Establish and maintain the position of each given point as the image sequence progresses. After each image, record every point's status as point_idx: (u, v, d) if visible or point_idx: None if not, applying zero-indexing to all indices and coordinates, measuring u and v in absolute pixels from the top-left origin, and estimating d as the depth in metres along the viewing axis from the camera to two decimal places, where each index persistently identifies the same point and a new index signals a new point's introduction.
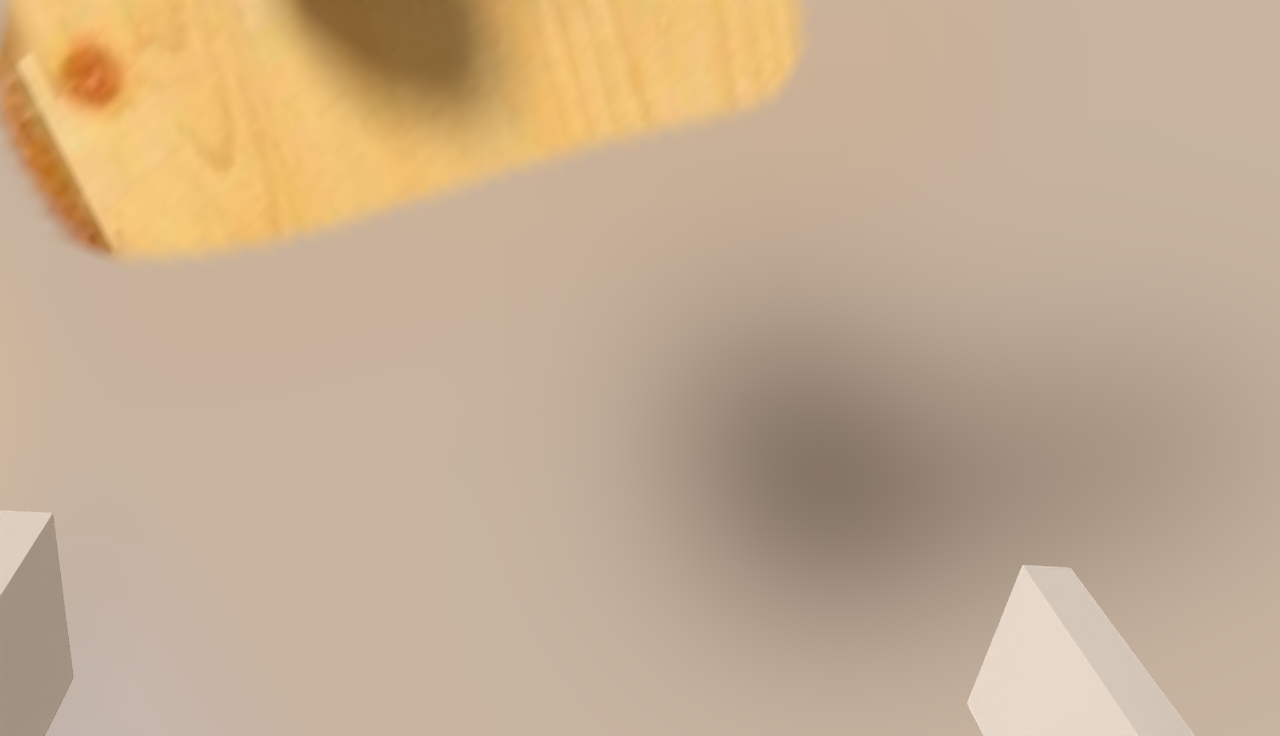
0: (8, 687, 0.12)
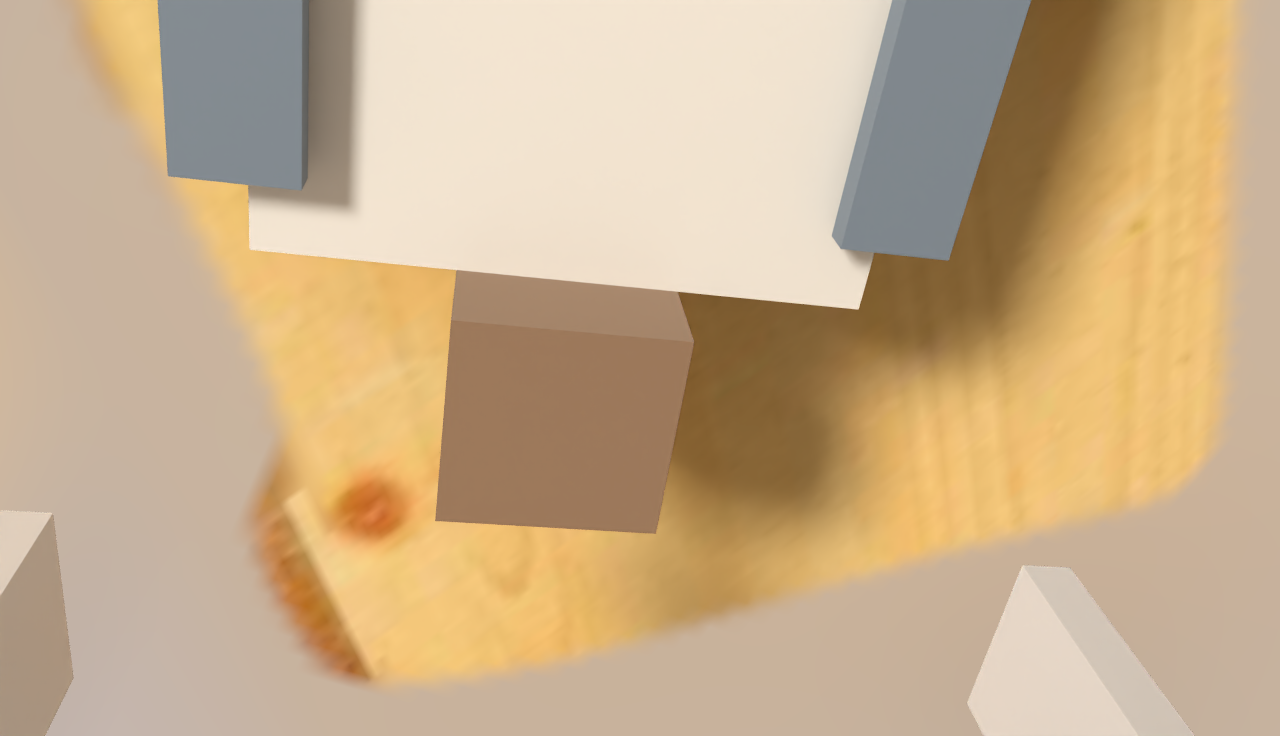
0: (8, 687, 0.12)
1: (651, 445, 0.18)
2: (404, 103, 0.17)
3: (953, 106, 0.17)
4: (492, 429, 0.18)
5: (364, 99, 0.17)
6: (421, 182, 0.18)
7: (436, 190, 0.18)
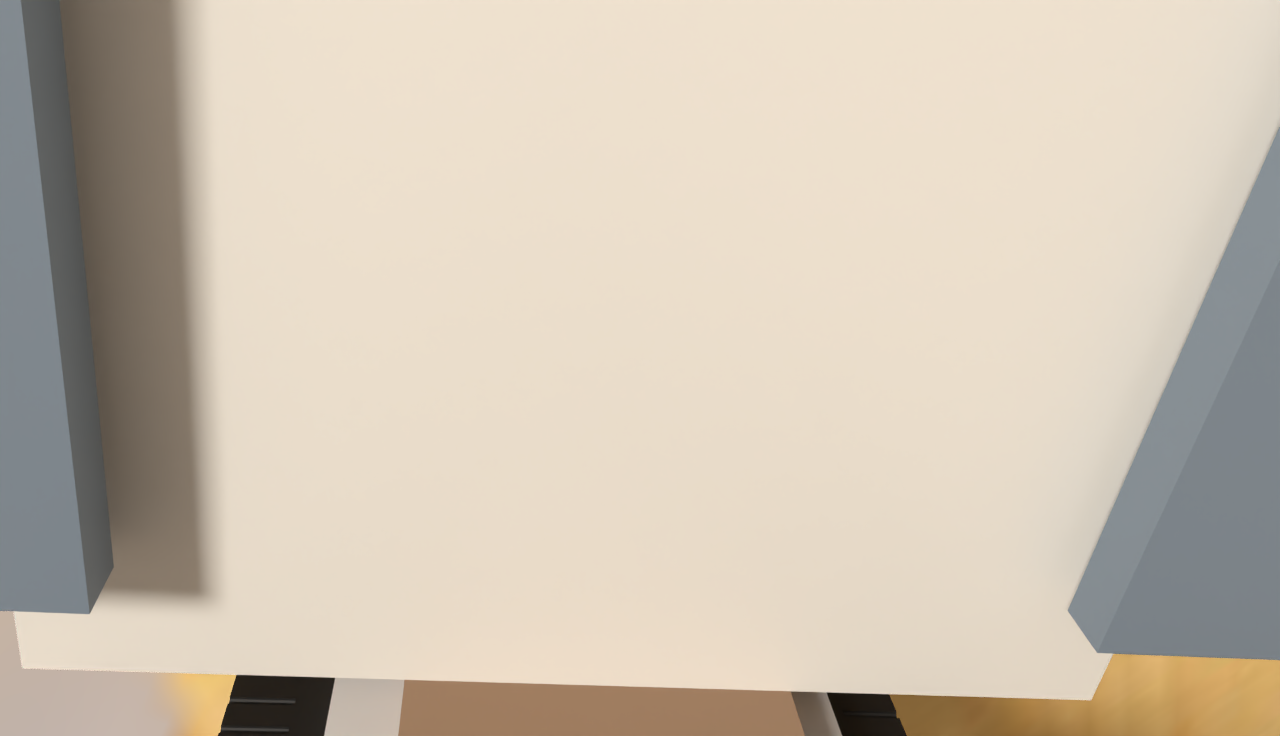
0: None
1: None
2: (296, 428, 0.09)
3: None
4: None
5: (218, 425, 0.09)
6: (335, 552, 0.10)
7: (363, 564, 0.10)
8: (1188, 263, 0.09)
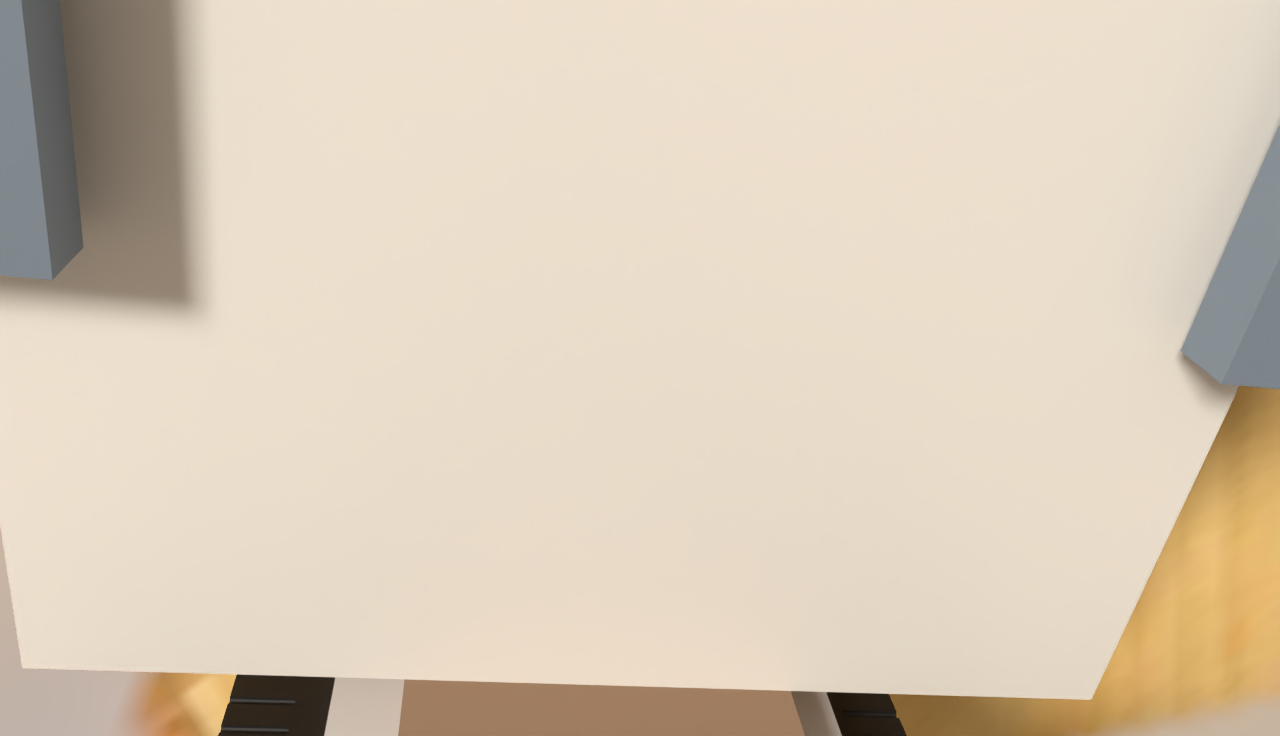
0: None
1: None
2: (296, 427, 0.09)
3: None
4: None
5: (218, 423, 0.09)
6: (335, 552, 0.10)
7: (364, 563, 0.10)
8: (1188, 262, 0.09)
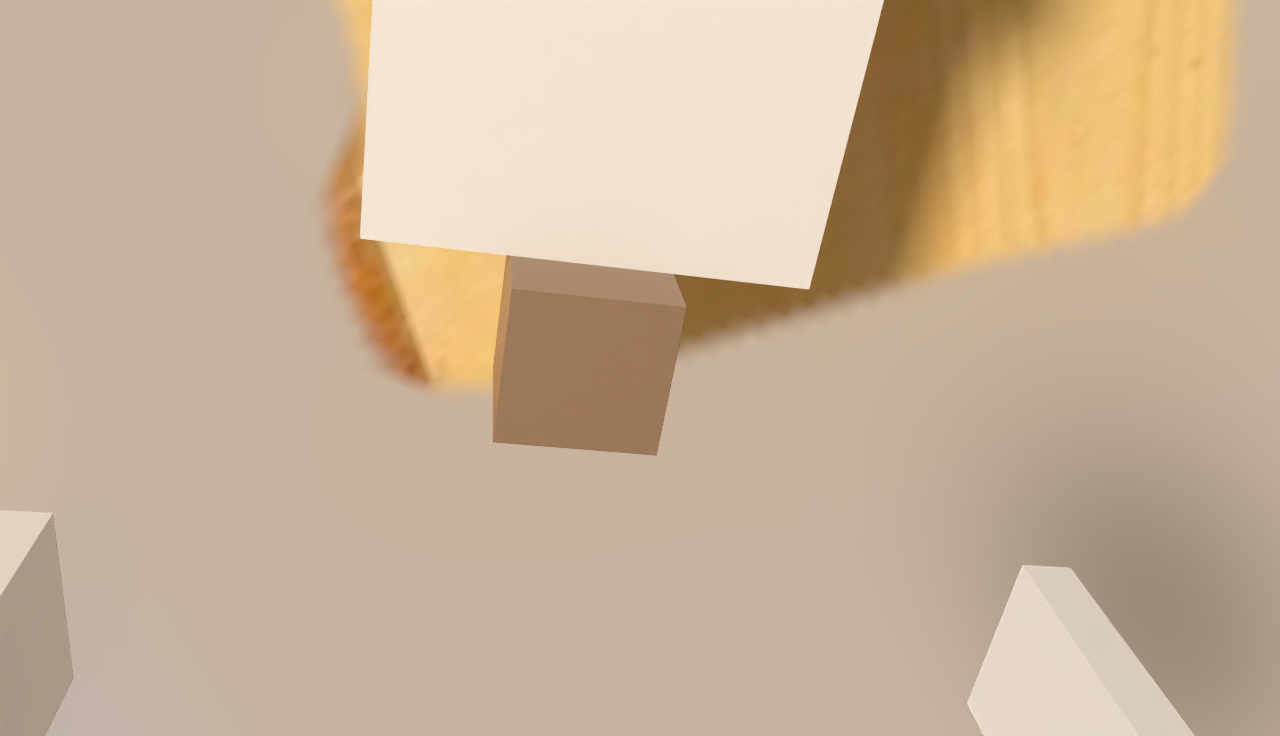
0: (8, 687, 0.12)
1: (655, 385, 0.25)
2: (478, 132, 0.24)
3: None
4: (538, 371, 0.24)
5: (450, 129, 0.23)
6: (487, 190, 0.24)
7: (498, 196, 0.24)
8: (819, 77, 0.24)
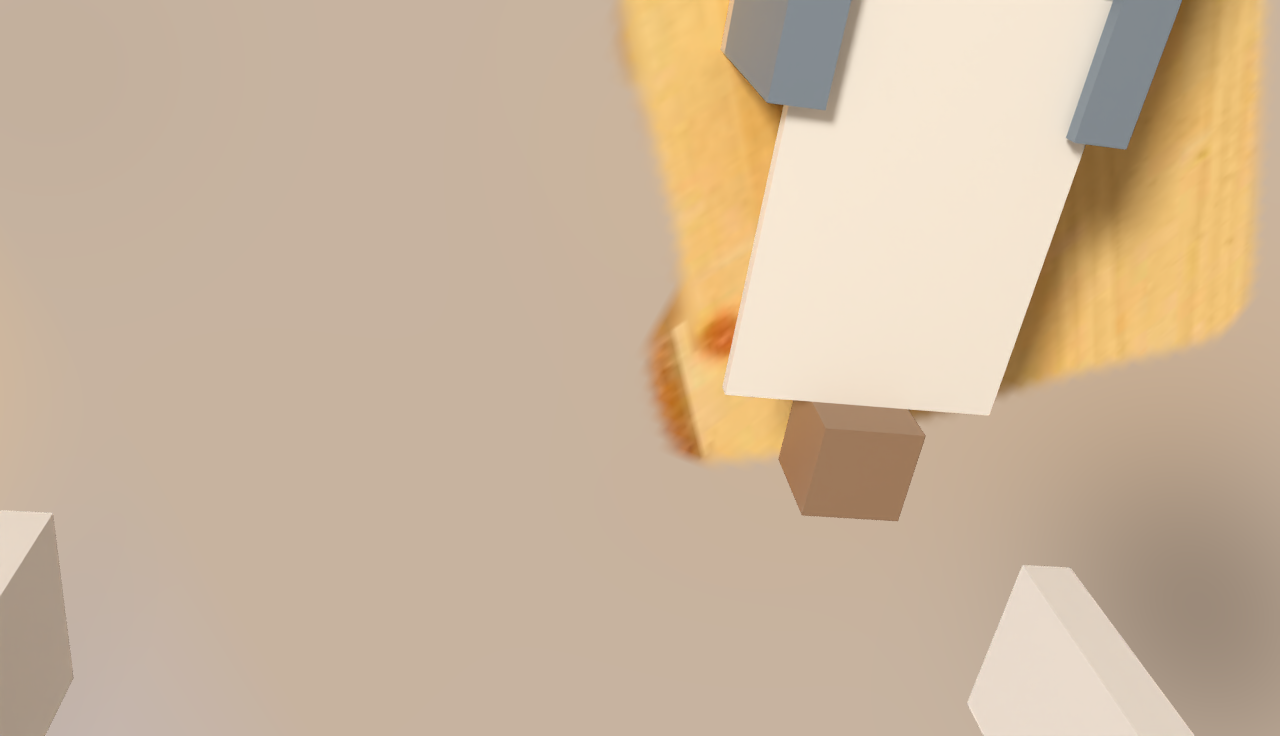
0: (8, 687, 0.12)
1: (901, 480, 0.41)
2: (802, 334, 0.39)
3: (1135, 69, 0.35)
4: (834, 474, 0.40)
5: (786, 333, 0.39)
6: (803, 365, 0.40)
7: (809, 368, 0.40)
8: (1005, 297, 0.40)
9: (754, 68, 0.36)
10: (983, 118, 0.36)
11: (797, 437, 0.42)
